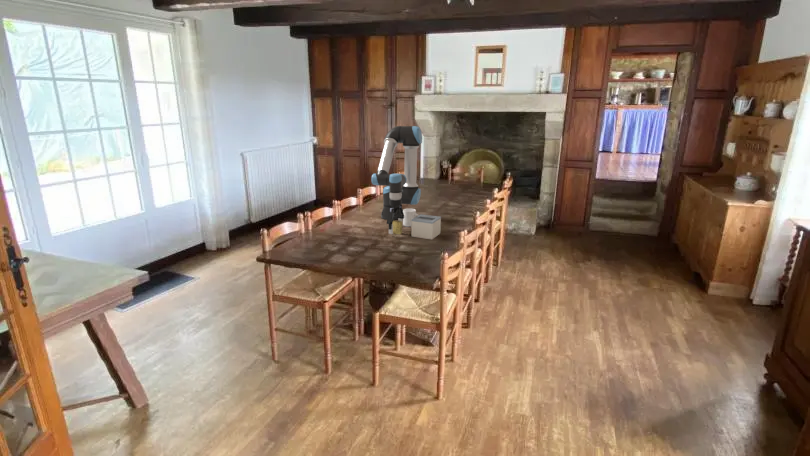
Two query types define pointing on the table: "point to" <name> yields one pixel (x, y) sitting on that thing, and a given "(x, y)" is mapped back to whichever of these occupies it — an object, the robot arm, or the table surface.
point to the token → (397, 227)
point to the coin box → (426, 226)
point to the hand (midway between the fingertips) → (395, 231)
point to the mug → (409, 217)
